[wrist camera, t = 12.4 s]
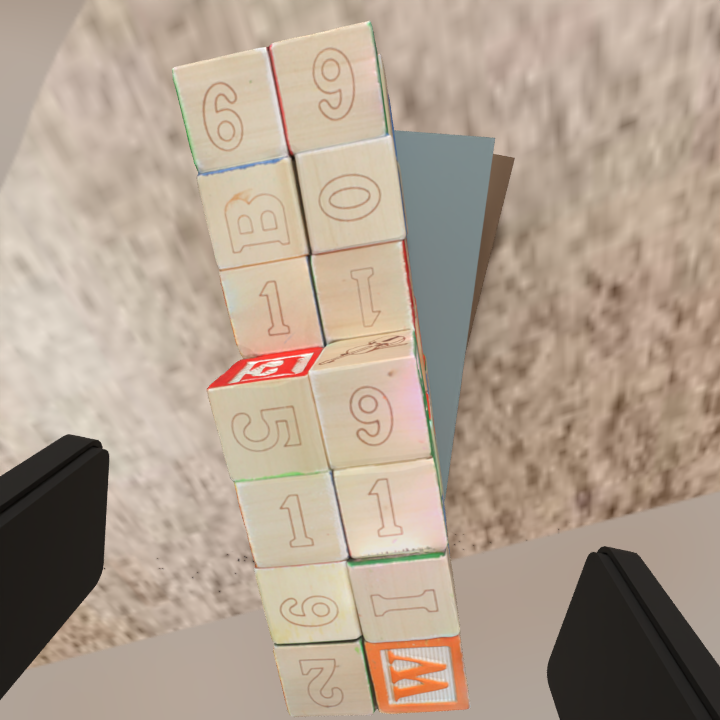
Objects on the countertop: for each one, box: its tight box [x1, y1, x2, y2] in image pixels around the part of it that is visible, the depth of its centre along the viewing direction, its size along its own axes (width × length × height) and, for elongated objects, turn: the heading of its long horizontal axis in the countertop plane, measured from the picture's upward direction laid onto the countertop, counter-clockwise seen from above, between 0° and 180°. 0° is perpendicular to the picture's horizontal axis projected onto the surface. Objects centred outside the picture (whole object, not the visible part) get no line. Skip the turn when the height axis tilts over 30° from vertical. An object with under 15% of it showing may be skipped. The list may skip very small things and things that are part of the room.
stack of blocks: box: [172, 21, 471, 717], centre depth 20 cm, size 21×6×12 cm, turn 9°
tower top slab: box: [394, 130, 495, 502], centre depth 28 cm, size 10×20×4 cm, turn 175°
